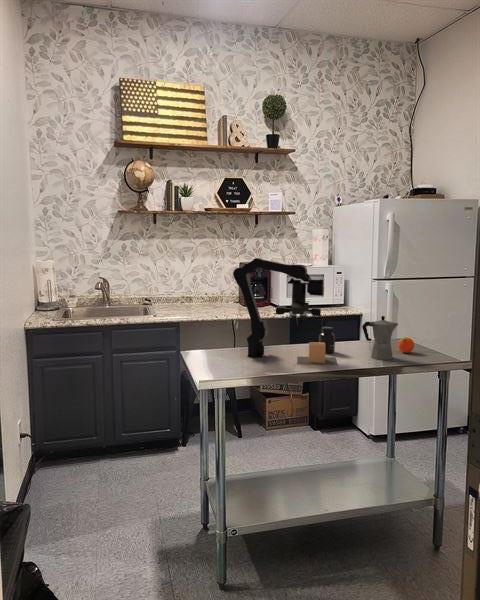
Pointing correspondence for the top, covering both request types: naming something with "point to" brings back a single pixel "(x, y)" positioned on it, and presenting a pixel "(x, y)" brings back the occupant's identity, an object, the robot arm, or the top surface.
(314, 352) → the rounded wooden cube
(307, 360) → the dark gray mat
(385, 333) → the coffeepot
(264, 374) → the top surface
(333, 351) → the supplement bottle
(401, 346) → the clementine
